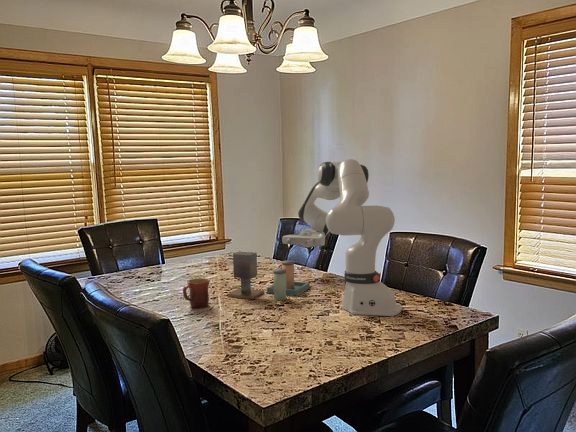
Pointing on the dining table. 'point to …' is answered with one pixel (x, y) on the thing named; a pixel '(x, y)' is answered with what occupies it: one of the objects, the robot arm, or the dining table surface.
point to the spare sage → (279, 284)
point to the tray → (296, 291)
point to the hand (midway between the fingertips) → (297, 242)
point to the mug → (197, 292)
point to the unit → (245, 275)
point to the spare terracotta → (289, 273)
